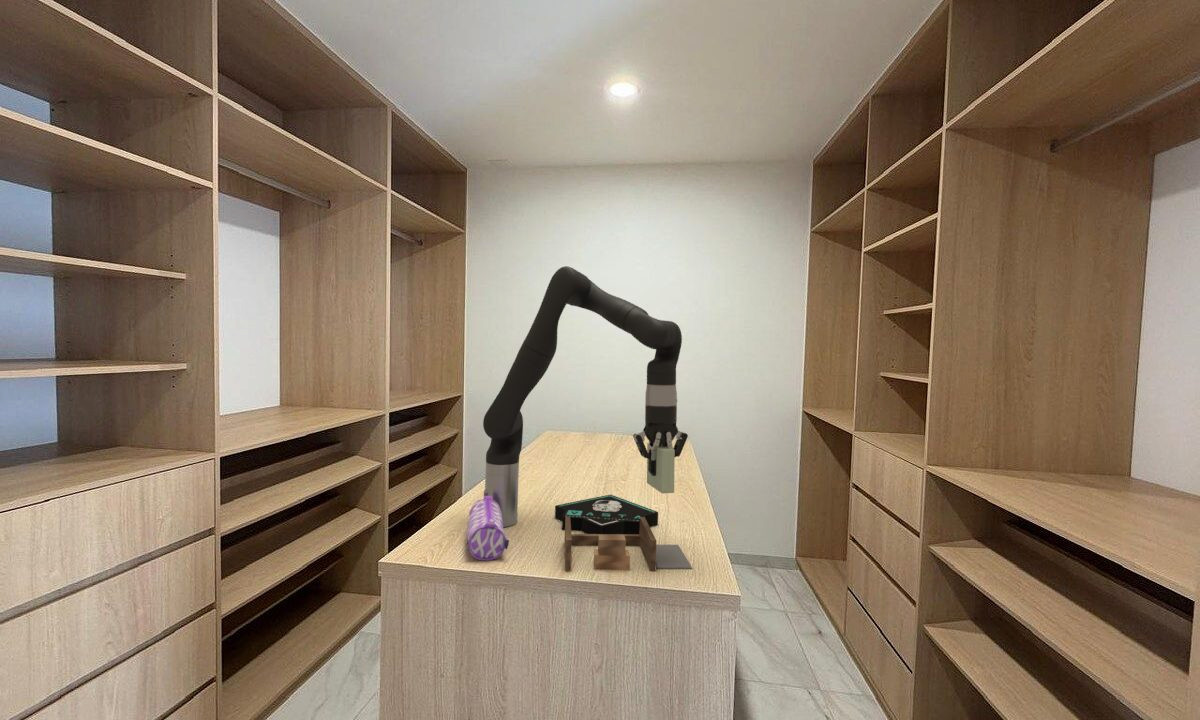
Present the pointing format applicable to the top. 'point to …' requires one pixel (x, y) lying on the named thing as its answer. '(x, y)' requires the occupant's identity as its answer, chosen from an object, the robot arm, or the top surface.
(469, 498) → the top surface
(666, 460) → the green board
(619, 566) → the block
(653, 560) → the rack
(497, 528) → the pencil case
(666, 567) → the felt pad
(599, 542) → the upper offcut
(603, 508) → the wall plaque
